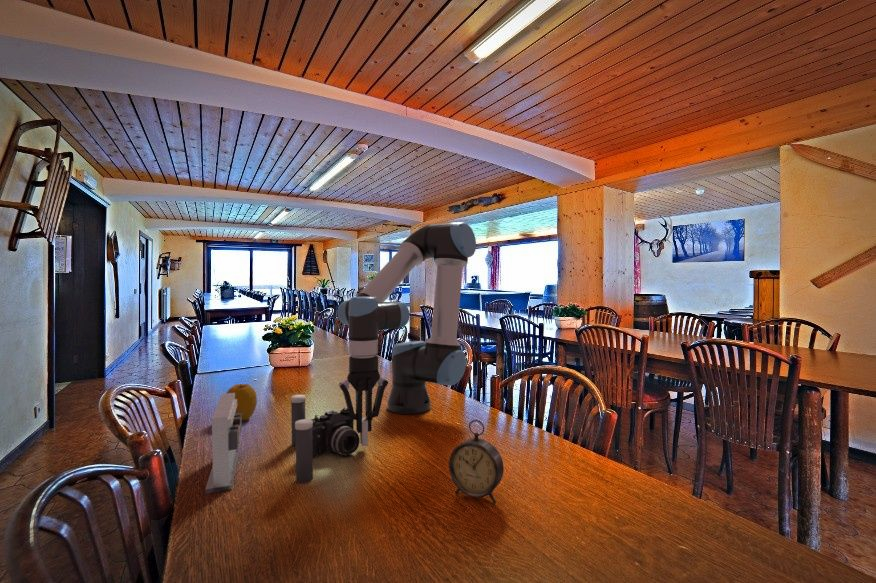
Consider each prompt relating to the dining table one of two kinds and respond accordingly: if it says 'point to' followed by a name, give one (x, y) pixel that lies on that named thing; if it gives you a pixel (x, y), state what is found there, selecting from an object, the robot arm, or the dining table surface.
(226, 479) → the breaker panel
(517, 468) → the dining table surface
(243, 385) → the yellow-brown oval body
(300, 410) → the post
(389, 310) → the robot arm
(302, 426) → the post
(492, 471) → the alarm clock
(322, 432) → the camera
